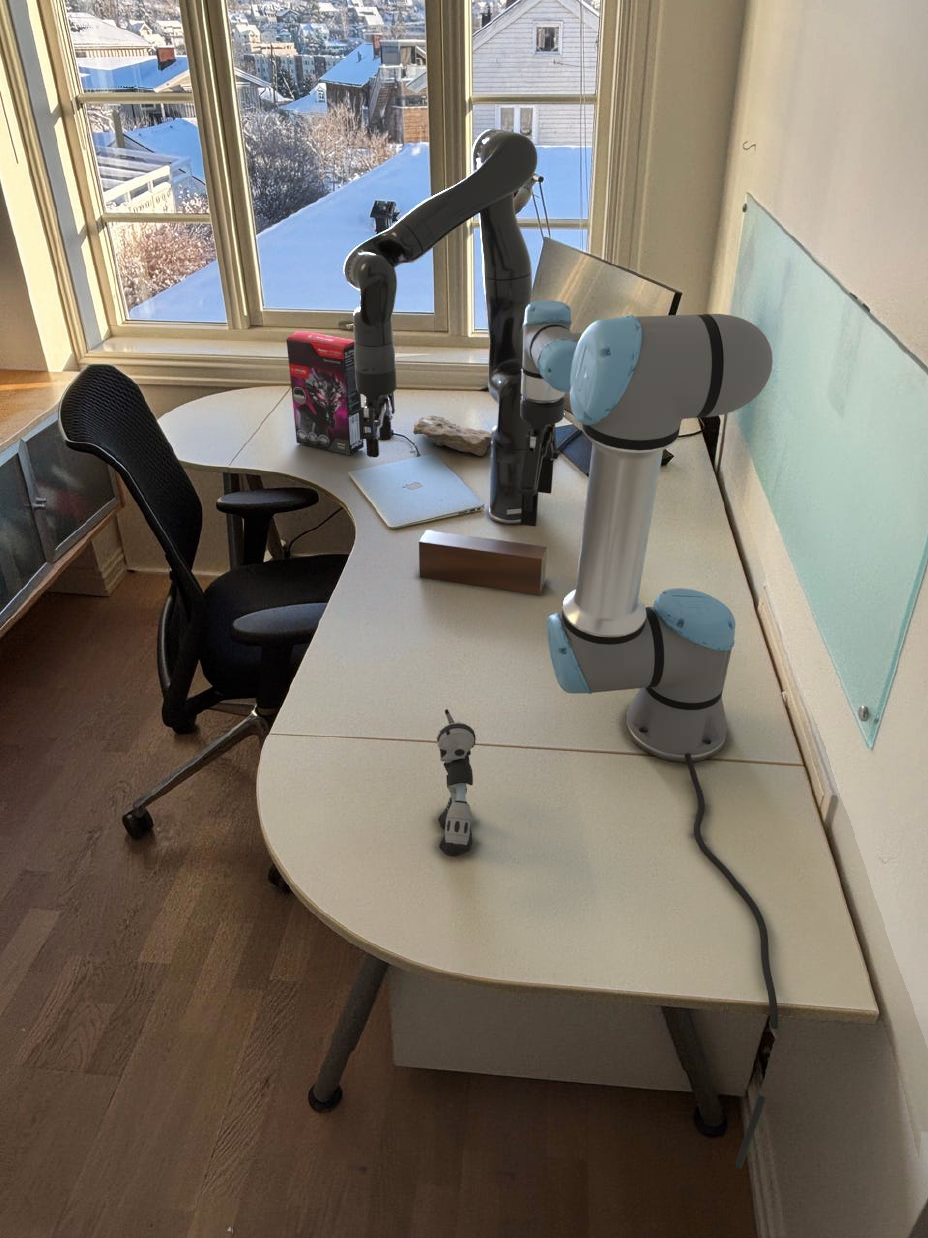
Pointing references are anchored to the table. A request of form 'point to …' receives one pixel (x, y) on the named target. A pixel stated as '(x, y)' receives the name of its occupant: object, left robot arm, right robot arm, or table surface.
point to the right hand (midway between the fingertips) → (536, 508)
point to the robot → (456, 785)
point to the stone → (453, 435)
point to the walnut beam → (482, 562)
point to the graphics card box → (324, 392)
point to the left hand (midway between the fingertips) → (379, 447)
